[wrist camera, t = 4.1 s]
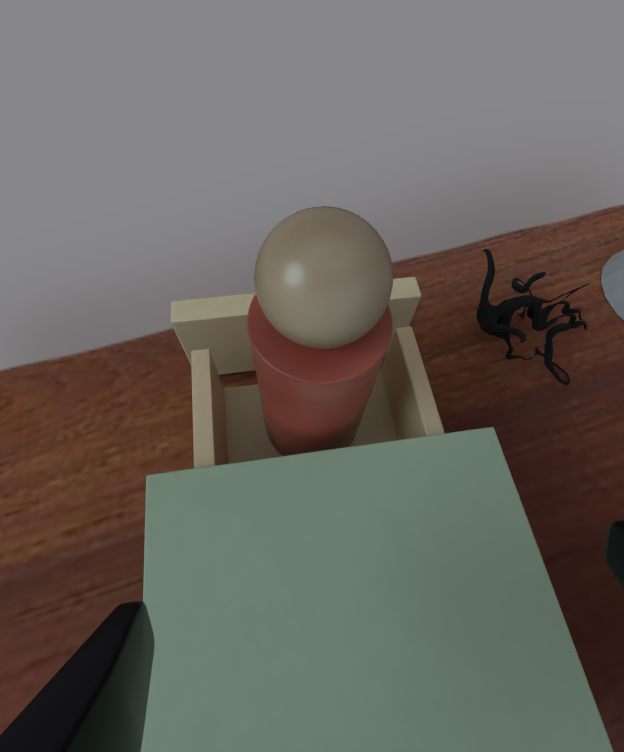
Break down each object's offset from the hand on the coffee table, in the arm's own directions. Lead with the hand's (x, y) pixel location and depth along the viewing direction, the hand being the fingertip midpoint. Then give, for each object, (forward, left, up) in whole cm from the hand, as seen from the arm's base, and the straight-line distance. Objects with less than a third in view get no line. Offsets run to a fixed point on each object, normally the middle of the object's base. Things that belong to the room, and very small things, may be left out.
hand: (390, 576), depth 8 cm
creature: (+7, -18, -13) cm, 23 cm away
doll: (+7, -2, -11) cm, 13 cm away
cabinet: (-1, +1, -13) cm, 13 cm away
